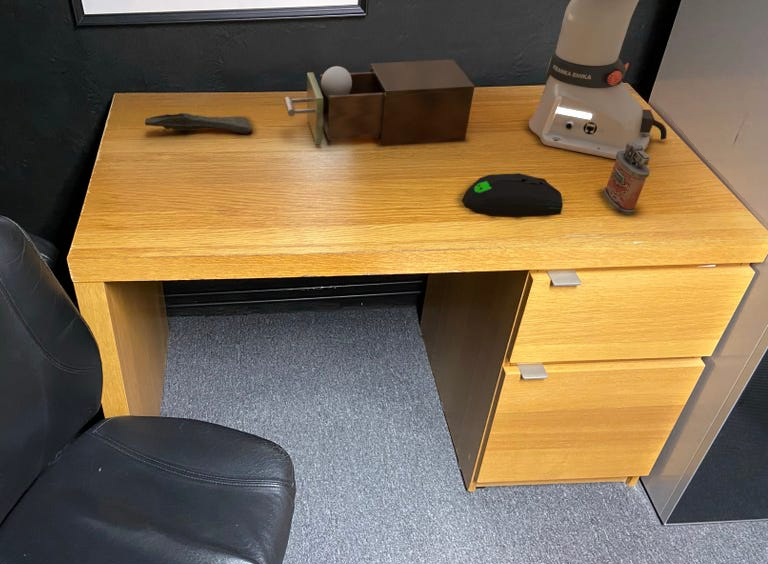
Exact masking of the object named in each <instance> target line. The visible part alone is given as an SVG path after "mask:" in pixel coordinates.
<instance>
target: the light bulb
mask: <svg viewBox="0 0 768 564" xmlns="http://www.w3.org/2000/svg"><path fill="white" fill-rule="evenodd" d="M349 73H350V72H349V71H348V69H346V68H345V67H343V66H338V65H335V66H331V67H329V68H328V69H326V70H325V71H324V73H322V74H323V76H322V80H321V88H322V91H323V93H324V94H325V95H326V97H327V98H328V100H329V95H348V94H349V92H350V90H351V87H352V78H351V75H350V74H349Z"/></svg>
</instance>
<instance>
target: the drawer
mask: <svg viewBox="0 0 768 564" xmlns="http://www.w3.org/2000/svg"><path fill="white" fill-rule="evenodd" d="M306 74H307V75H306V97H302V98H301V97H300V98H299V97H298V98H292V97H291V96H286V97H285V98H284V105H285V108H286V112H287V115H288V116H289V117H294V116H295V115H299V114H306V118H307V121H308V125H309V127H310V130H311V135H312V137H313V139H314V142H315V143H314V144H316V145H322V144H323V129H324V132H325V134H326V138H327V140H328V141H334V140H335V141H336V140H350V139H352V140H353V139H368V138H377V137H381V129H382V118H383V107H384V96H385V93H384V91H383V90H382V88H381V86H380V84H379V82H378V81H377V79H376V77H375V75H374V73H373V72H370V71H362V72H361V71H360V72H349V74H350V75H351V78H352V87H351V90H350V92H349V94H348V95H329V100H328V98H327V97H326V95H325V94H324V93H323V91H322V88H321V80H322V76H323V74H324V73H322V74H320V83H318V81H317V78H316V76H315V73H314V72H313V71H312V72H306ZM319 84H320V86H319ZM298 103H299V104H300V103H306V108H301V109H300V108H299V109H295V106H294V104H298Z"/></svg>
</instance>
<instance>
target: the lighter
mask: <svg viewBox="0 0 768 564" xmlns="http://www.w3.org/2000/svg"><path fill="white" fill-rule="evenodd" d="M650 160H651V158H650V156H649V154H647V153H646V152H645V150H644V151H643V146H642V145H637V144H636V143H634V142H627V145H626V149H625V151H618V152H617V154H616V159H615V161H614V163H613V167H612V170H611V173H610V175H609V179H608V181H607V185H606V186H605V187H604V189H603V192H602V194H603V197H604V199H605V201H606V202H607V203H608V205H609V206H610V207H611V208H612V209H613V210H615V211H616V212H617V213H618V214H620V215H622V216H632V215H634V214H635V211H636V205H637V203H638V201H639V198H640V195H641V193H642V190H643V187H644V185H645V182H646V179H648V177H649V176H650V173H651V170H650V168H649V167H648V165H649V163H650Z"/></svg>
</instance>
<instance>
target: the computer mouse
mask: <svg viewBox="0 0 768 564" xmlns="http://www.w3.org/2000/svg"><path fill="white" fill-rule="evenodd" d="M461 202H462V203H463V206H464V207H465V208H467V209H469V210H470V211H472V212H474V213H476V214H480V215H486V216H492V217H503V218H504V217H505V218H524V217H525V218H527V217H543V216H544V217H546V216H554V215H561V213H562V210H563V206H564V203H563V198H562V193H561V191H559V190H558V189H557V188H555V186H553V185H552V184H551V183H549V182H548V181H547V179H545V178H542V177H536V176H532V175H529V174H522V173H519V172H517V173H493V174H488V175H485V176H480V177H479V178H478V179H477V180H476V181H475V182H474V183H472V185H470V186H469V187H468V188H467V189H466V191H465V192H464V195H463V197H462V199H461Z"/></svg>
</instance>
